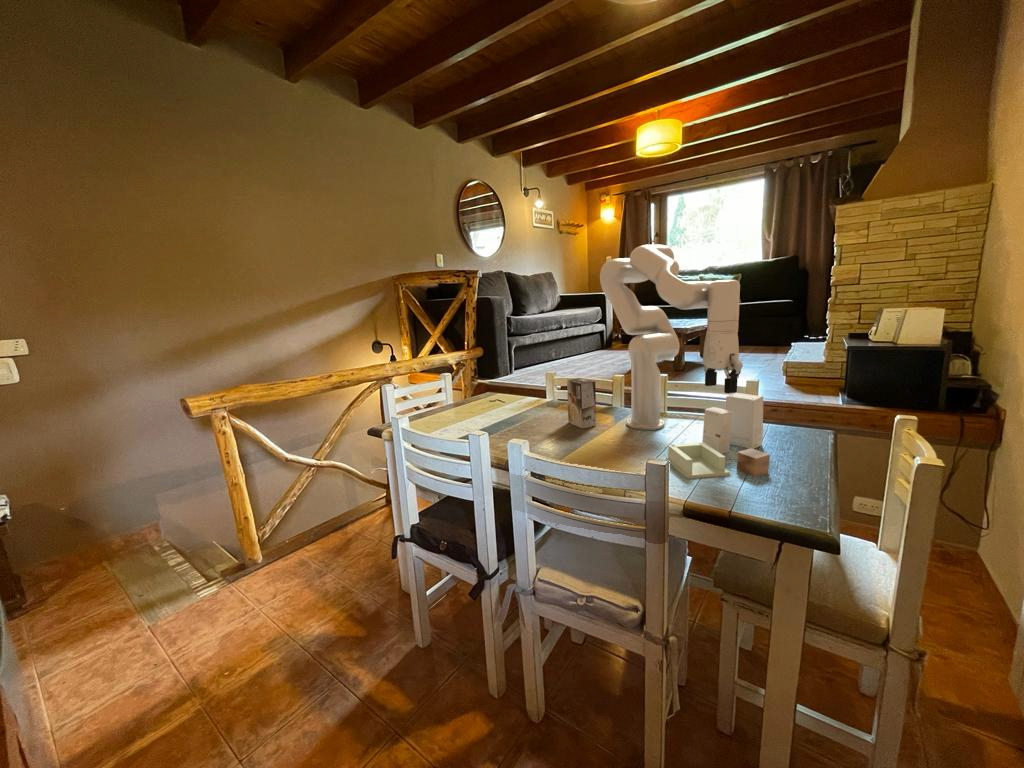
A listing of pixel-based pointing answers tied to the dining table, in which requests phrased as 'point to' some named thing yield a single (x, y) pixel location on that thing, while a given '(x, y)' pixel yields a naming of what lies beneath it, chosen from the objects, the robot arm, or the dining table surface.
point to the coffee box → (581, 402)
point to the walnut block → (753, 462)
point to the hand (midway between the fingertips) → (720, 389)
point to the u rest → (697, 460)
